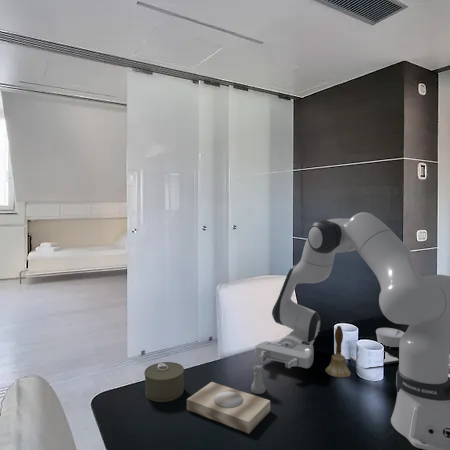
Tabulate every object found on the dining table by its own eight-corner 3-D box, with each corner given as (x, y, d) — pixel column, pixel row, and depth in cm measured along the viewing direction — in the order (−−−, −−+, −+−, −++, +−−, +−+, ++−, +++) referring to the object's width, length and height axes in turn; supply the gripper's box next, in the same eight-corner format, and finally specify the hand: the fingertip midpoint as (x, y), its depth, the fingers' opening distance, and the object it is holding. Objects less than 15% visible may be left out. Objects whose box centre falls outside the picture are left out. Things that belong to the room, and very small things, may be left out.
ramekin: (411, 350, 143) (411, 337, 143) (382, 350, 143) (382, 337, 143) (398, 339, 154) (398, 327, 154) (371, 339, 155) (371, 327, 154)
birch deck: (270, 411, 101) (270, 399, 101) (248, 433, 91) (248, 421, 91) (211, 391, 112) (211, 380, 112) (186, 409, 102) (186, 398, 102)
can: (148, 406, 105) (148, 382, 104) (141, 386, 116) (141, 365, 115) (189, 397, 109) (188, 375, 109) (178, 379, 120) (178, 359, 120)
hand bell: (354, 371, 125) (355, 325, 125) (345, 380, 119) (345, 332, 118) (331, 364, 131) (331, 320, 130) (321, 372, 124) (321, 326, 124)
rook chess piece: (261, 396, 109) (261, 370, 109) (248, 392, 112) (248, 366, 111) (268, 389, 113) (268, 364, 113) (255, 385, 116) (255, 361, 115)
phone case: (363, 371, 127) (401, 364, 131) (363, 366, 127) (401, 360, 131) (348, 360, 136) (384, 354, 140) (348, 356, 136) (384, 350, 140)
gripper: (265, 334, 138) (246, 346, 127) (317, 345, 127) (302, 359, 116) (265, 350, 139) (246, 364, 127) (317, 363, 128) (302, 379, 116)
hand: (274, 362), depth 121 cm, fingers open, 8 cm apart
